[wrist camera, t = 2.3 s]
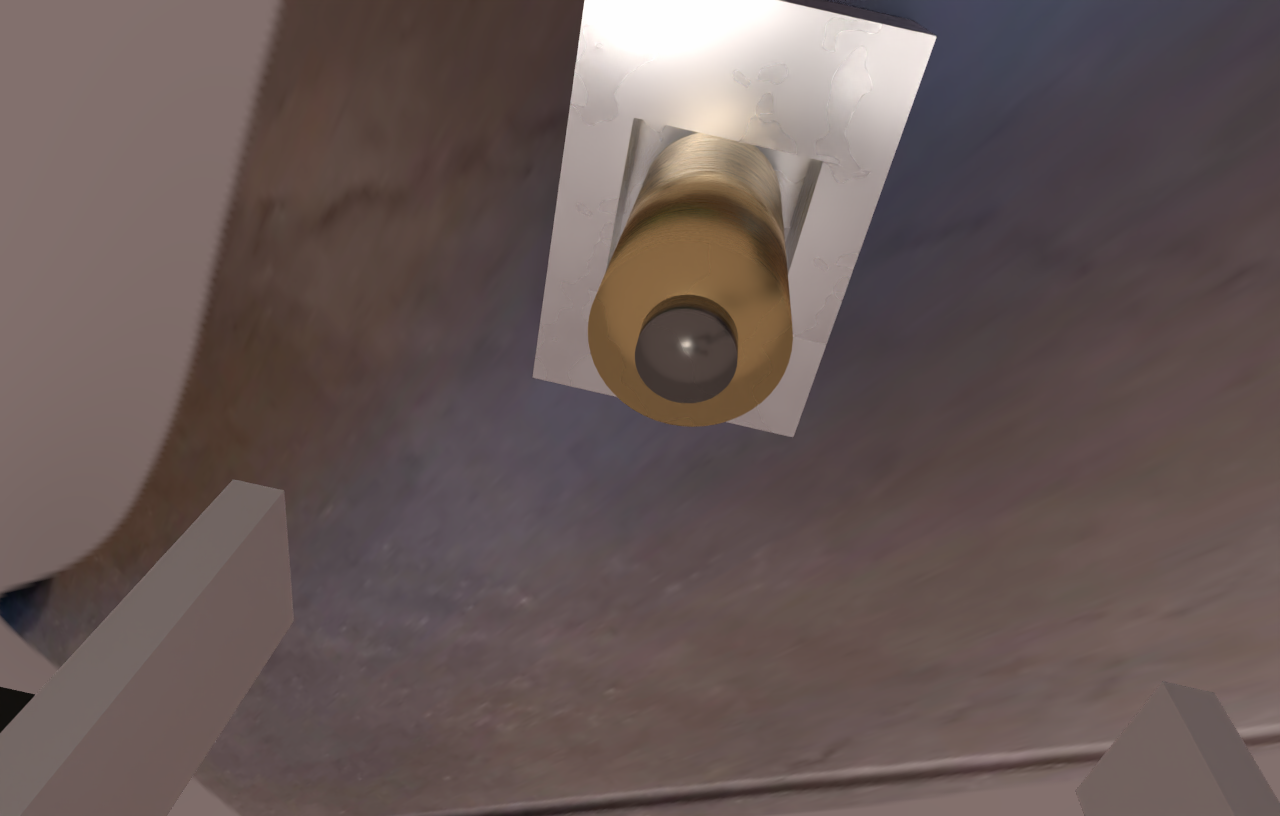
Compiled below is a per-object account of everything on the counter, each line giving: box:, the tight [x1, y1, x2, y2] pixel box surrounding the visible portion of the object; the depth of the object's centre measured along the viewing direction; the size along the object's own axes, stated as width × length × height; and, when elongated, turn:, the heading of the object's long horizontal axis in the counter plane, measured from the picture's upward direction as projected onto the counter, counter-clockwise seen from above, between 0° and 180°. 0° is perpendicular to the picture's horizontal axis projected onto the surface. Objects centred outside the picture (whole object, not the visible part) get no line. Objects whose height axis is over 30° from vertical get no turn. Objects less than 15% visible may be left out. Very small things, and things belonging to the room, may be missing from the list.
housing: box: [533, 0, 937, 437], centre depth 28 cm, size 14×10×4 cm
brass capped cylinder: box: [588, 133, 793, 427], centre depth 24 cm, size 5×5×12 cm
